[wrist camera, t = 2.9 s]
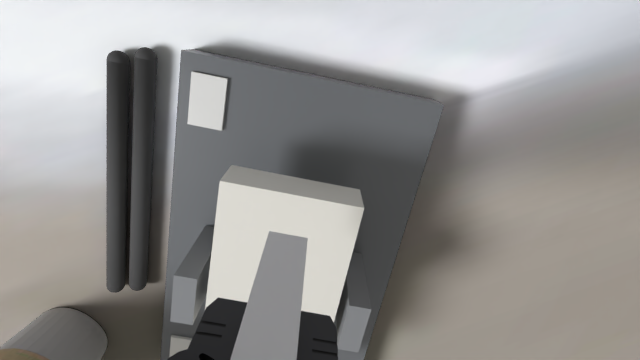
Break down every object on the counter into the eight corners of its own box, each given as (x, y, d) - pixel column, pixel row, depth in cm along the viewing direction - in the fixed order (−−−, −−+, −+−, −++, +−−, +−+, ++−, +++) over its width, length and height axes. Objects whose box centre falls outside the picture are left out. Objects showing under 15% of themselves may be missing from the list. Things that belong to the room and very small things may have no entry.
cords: (113, 39, 22) (102, 39, 21) (161, 49, 22) (152, 50, 21) (112, 284, 28) (103, 294, 27) (149, 290, 29) (142, 300, 27)
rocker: (231, 164, 20) (219, 180, 18) (360, 189, 20) (364, 208, 18) (206, 366, 25) (194, 398, 23) (310, 382, 25) (308, 416, 23)
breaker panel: (193, 49, 22) (133, 53, 15) (434, 99, 23) (481, 125, 16) (169, 353, 31) (123, 446, 24) (348, 382, 32) (355, 479, 25)
